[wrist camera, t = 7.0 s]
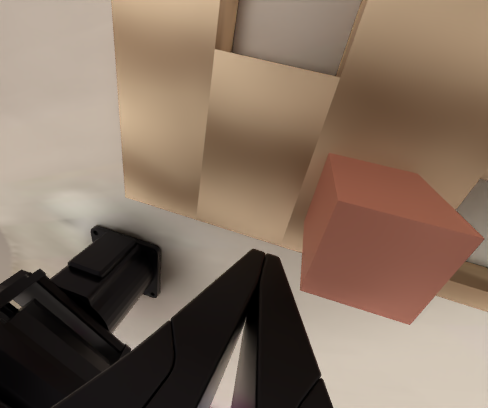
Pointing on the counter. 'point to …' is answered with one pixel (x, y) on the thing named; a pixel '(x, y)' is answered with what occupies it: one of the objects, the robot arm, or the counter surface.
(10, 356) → the robot arm
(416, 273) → the block
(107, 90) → the counter surface
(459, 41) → the trap board
